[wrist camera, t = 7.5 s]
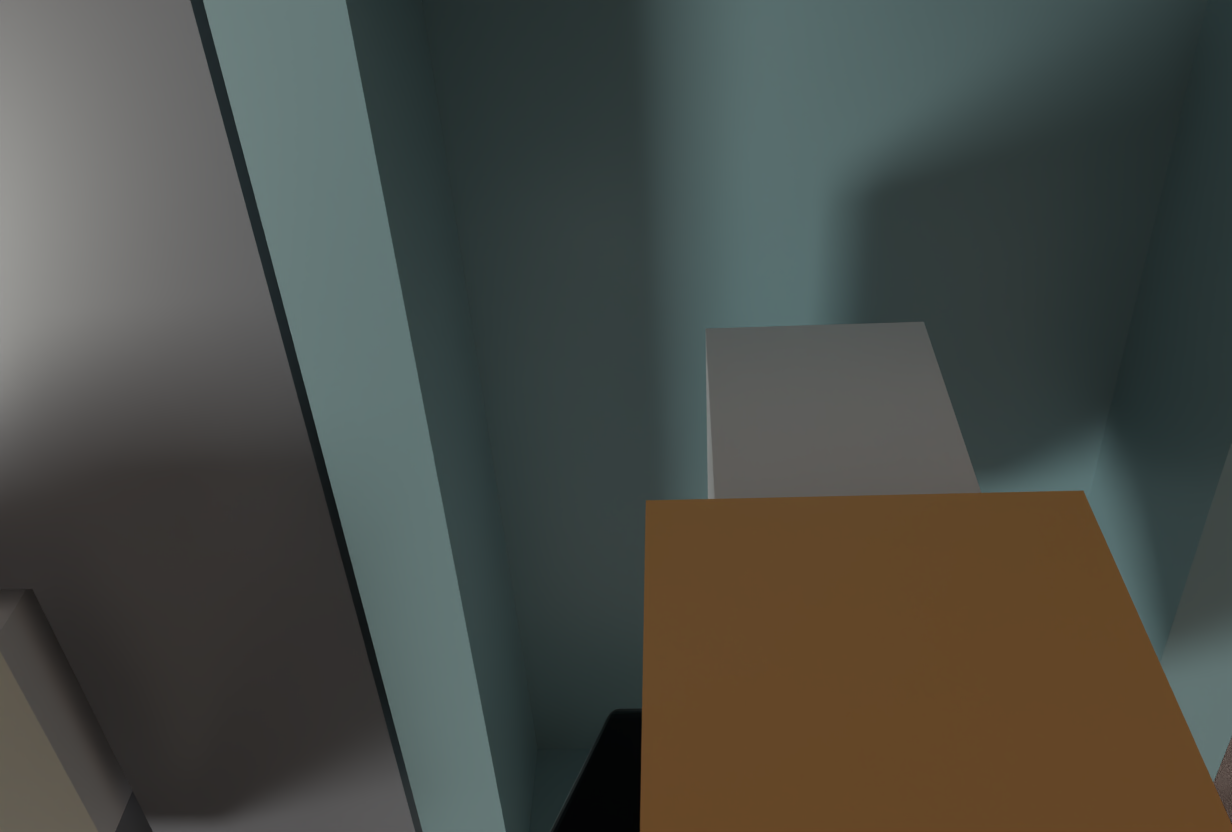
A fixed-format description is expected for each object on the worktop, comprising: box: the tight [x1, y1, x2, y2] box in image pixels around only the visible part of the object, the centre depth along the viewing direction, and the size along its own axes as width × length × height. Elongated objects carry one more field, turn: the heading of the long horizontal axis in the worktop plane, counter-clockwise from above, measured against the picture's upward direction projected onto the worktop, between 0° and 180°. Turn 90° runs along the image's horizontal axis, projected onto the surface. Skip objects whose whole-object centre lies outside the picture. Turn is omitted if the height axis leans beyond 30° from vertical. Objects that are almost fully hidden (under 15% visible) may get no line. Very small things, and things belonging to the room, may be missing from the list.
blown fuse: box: [640, 322, 1232, 832], centre depth 9 cm, size 5×3×7 cm, turn 3°
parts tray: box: [203, 0, 1232, 832], centre depth 12 cm, size 14×9×3 cm, turn 3°
